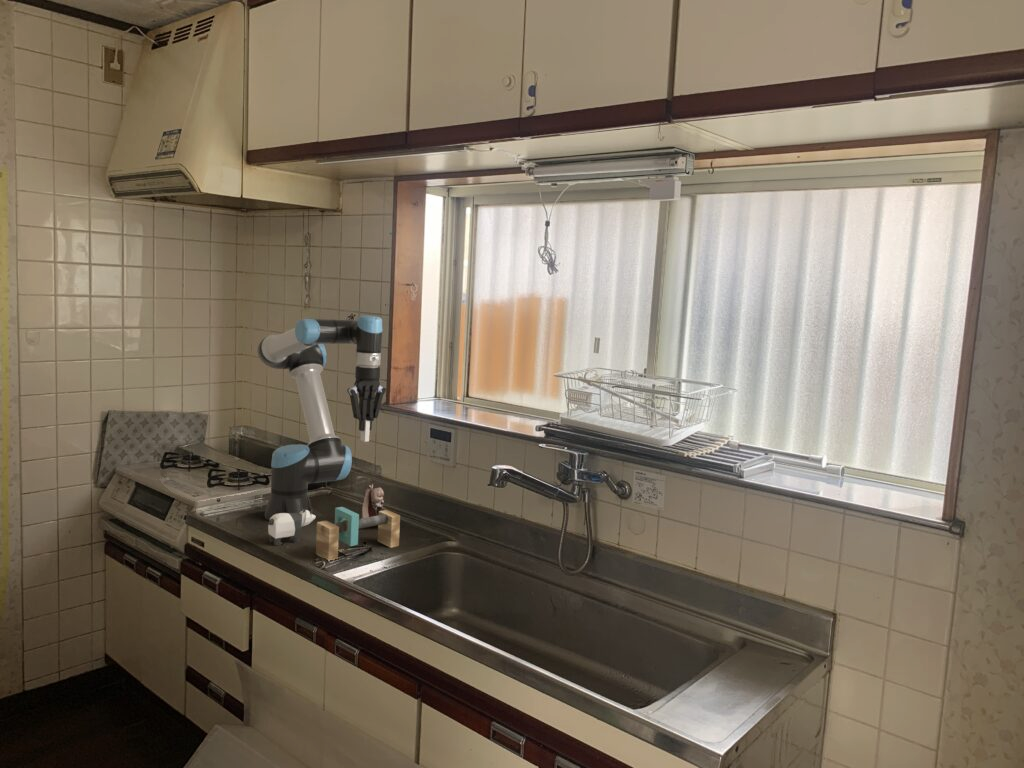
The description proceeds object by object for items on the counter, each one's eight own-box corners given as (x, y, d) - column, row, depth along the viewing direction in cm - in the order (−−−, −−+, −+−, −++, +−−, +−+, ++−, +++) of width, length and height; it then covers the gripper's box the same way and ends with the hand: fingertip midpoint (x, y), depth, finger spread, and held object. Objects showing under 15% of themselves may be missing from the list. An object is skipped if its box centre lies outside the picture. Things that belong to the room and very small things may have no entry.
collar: (350, 546, 221) (351, 515, 220) (334, 537, 228) (335, 507, 227) (357, 544, 223) (359, 514, 222) (341, 536, 229) (342, 506, 228)
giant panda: (272, 547, 227) (273, 515, 226) (264, 541, 231) (265, 510, 230) (318, 539, 236) (319, 508, 235) (310, 534, 240) (311, 504, 239)
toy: (386, 530, 246) (375, 485, 245) (362, 535, 248) (350, 490, 247) (396, 522, 255) (385, 478, 254) (373, 527, 257) (362, 483, 256)
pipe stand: (328, 561, 218) (329, 527, 217) (315, 554, 223) (316, 521, 222) (398, 545, 235) (400, 514, 233) (385, 539, 240) (387, 508, 238)
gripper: (356, 368, 233) (352, 445, 236) (392, 367, 242) (388, 441, 245) (343, 365, 238) (340, 440, 241) (379, 364, 247) (375, 436, 250)
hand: (364, 440), depth 243 cm, fingers closed
